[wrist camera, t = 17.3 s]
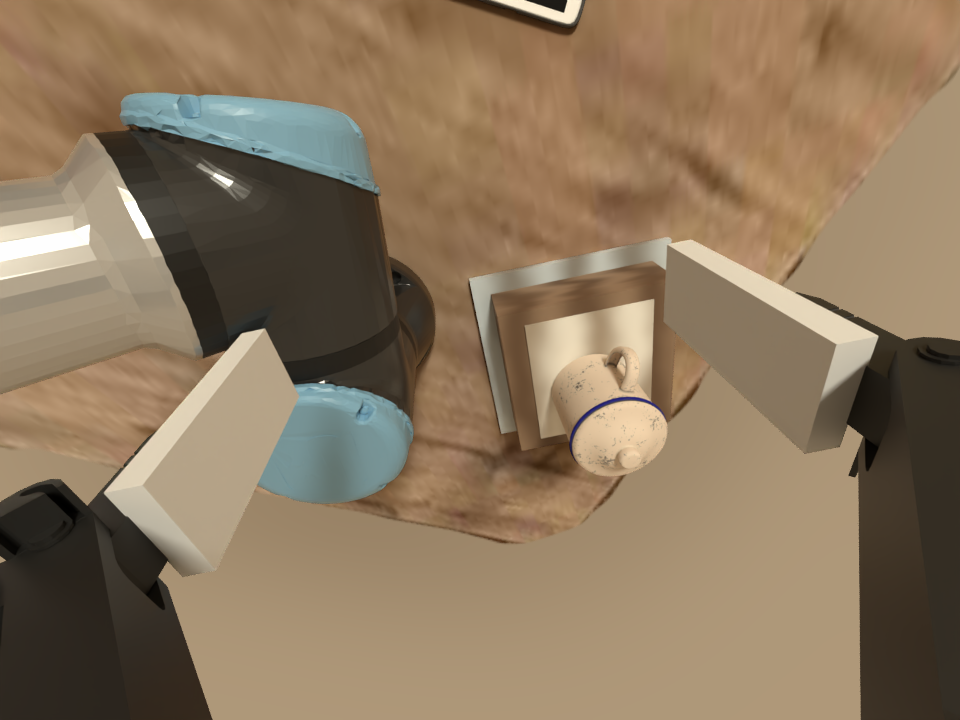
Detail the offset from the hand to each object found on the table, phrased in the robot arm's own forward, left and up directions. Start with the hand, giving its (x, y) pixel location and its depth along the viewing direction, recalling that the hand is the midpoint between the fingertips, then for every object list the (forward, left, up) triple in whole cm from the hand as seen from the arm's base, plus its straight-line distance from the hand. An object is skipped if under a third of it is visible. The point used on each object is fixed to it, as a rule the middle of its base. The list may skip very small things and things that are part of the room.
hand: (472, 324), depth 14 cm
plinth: (+11, -21, -32) cm, 40 cm away
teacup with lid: (+11, -21, -25) cm, 34 cm away
